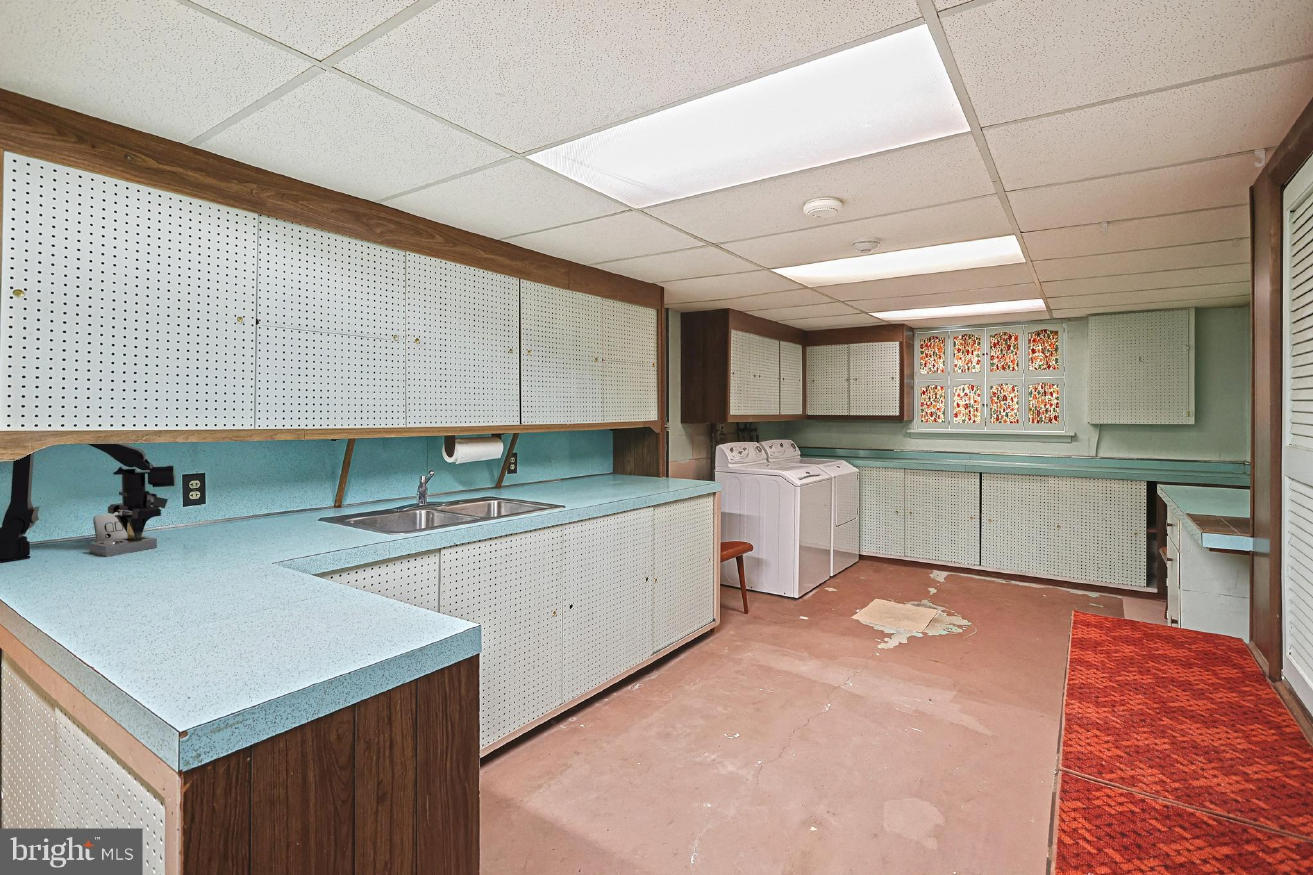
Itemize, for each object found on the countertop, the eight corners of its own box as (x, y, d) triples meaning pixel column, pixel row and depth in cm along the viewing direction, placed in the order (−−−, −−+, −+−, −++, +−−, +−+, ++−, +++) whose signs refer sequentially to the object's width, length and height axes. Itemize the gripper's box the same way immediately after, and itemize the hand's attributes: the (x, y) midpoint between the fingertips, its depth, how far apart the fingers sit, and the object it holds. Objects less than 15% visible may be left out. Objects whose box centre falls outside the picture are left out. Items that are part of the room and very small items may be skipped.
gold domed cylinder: (131, 545, 192) (130, 523, 192) (125, 544, 194) (124, 522, 193) (144, 543, 195) (144, 521, 195) (138, 541, 197) (138, 520, 197)
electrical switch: (98, 544, 199) (96, 515, 199) (91, 543, 202) (89, 515, 202) (133, 538, 208) (131, 511, 208) (126, 538, 210) (124, 511, 210)
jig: (106, 556, 184) (106, 546, 184) (89, 552, 188) (89, 542, 188) (157, 547, 196) (156, 538, 195) (140, 544, 200) (139, 535, 200)
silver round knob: (107, 554, 187) (107, 543, 187) (101, 553, 188) (101, 541, 188) (122, 552, 190) (122, 540, 190) (116, 550, 192) (115, 539, 191)
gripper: (179, 487, 197) (180, 536, 198) (147, 483, 205) (148, 529, 206) (138, 491, 187) (139, 542, 188) (106, 487, 195) (107, 535, 196)
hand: (134, 537), depth 194 cm, fingers closed on gold domed cylinder, 3 cm apart
